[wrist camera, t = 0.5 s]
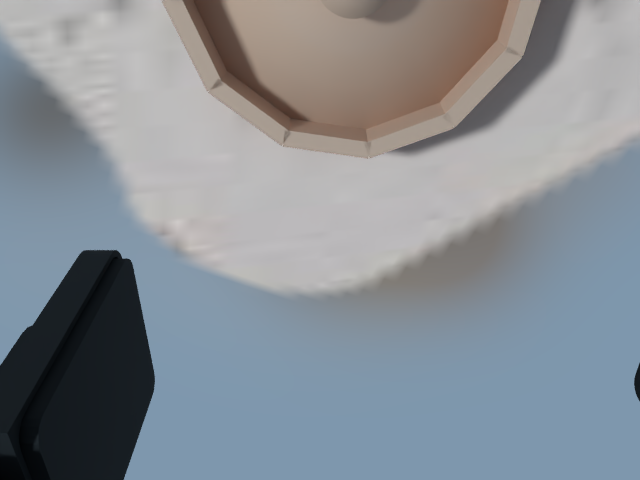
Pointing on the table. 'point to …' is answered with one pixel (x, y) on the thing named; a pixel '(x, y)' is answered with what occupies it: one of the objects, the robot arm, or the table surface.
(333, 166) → the table surface
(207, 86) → the saucer
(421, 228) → the table surface
